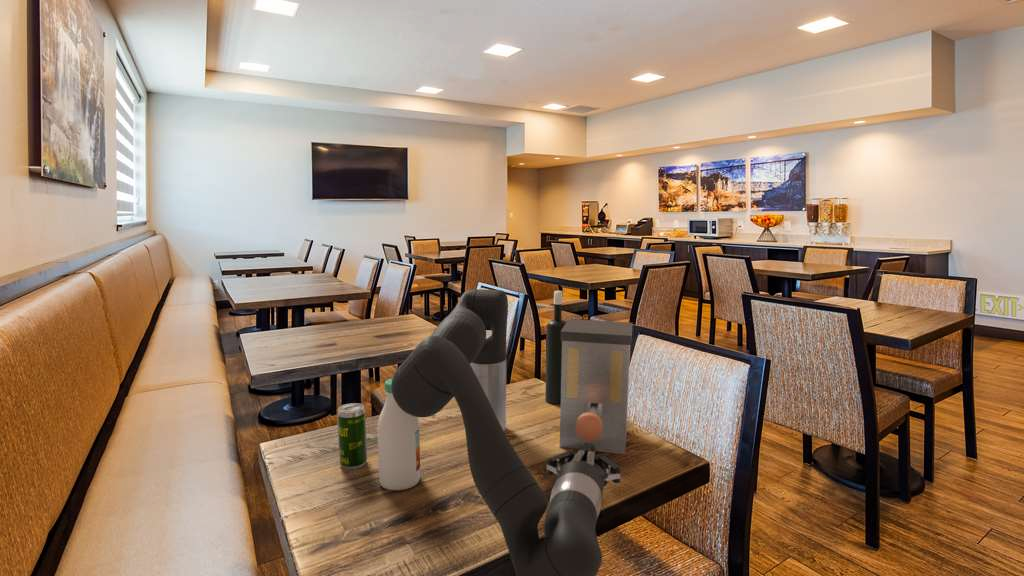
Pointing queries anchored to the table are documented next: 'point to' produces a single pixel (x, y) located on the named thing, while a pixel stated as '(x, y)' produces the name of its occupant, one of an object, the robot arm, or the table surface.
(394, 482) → the milk bottle
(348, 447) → the beer can
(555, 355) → the wine bottle
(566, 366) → the dispenser
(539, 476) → the table surface
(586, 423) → the plunger
